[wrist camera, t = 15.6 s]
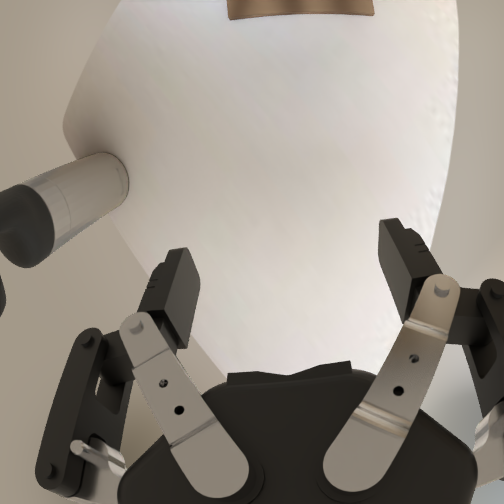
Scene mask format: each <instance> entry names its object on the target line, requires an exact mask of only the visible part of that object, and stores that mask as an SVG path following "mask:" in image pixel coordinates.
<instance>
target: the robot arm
mask: <svg viewBox="0 0 504 504" xmlns="http://www.w3.org/2000/svg"><path fill="white" fill-rule="evenodd" d="M128 186H129V183H128V176H127V172H126V170H125V168H124V166H123V165H122V163H121V162H120V161H119V160H118V159H117V158H116V157H115V156H113V155H111V154H108V153H97V154H93V155H90V156H88V157H85V158H82V159H79V160H76V161H73V162H71V163H68V164H65V165H63V166H60V167H58V168H55V169H53V170H50V171H48V172H45V173H43V174H40V175H38V176H36V177H33V178H31V179H29V180H26V181H24V182H22V183H20V184H17V185H15V186H13V187H11V188H9V189H6V190H4V191H2V192H0V250H1V252H2V253H3V254H4V256H5V257H6V258H7V259H8V260H9V261H11V262H12V263H13V264H15V265H17V266H19V267H22V268H31V267H34V266H36V265H37V264H39V263H40V262H42V261H43V260H44V259H45V258H47V257H48V256H49V255H50V254H52V253H53V252H55V251H56V250H57V249H59V248H60V247H61V246H62V245H64V244H65V243H66V242H68V241H69V240H70V239H72V238H73V237H75V236H76V235H77V234H78V233H80V232H82V231H83V230H84V229H86V228H87V227H89V226H90V225H92V224H93V223H94V222H96V221H97V220H99V219H100V218H102V217H103V216H105V215H106V214H108V213H109V212H111V211H112V210H114V209H115V208H117V207H118V206H119V205H121V204H122V202H123V201H124V200H125V198H126V196H127V192H128ZM378 257H379V262H380V265H381V268H382V270H383V273H384V275H385V278H386V281H387V283H388V286H389V288H390V291H391V294H392V296H393V299H394V302H395V304H396V307H397V310H398V313H399V315H400V318H401V321H402V324H404V325H403V327H402V329H401V331H400V333H399V335H398V337H397V339H396V341H395V343H394V345H393V347H392V349H391V351H390V353H389V355H388V356H387V358H386V360H385V362H384V364H383V366H382V368H381V369H380V371H379V373H378V375H375V374H372V373H370V372H366V371H362V370H357V369H352V367H351V362H350V361H344V362H337V363H330V364H323V365H318V366H315V367H313V368H310V369H307V370H304V371H301V372H298V373H295V374H292V375H280V374H272V373H265V372H259V371H254V372H238V373H228V375H227V382H224V383H222V384H219V385H217V386H215V387H213V388H211V389H209V390H208V391H207V392H205V393H204V394H201V392H200V391H199V390H198V388H197V387H196V385H195V384H194V382H193V381H192V379H191V378H190V376H189V375H188V373H187V372H186V370H185V369H184V367H183V366H182V364H181V363H180V361H179V360H178V358H177V357H176V352H177V349H186V348H187V347H188V341H189V337H190V332H191V328H192V323H193V318H194V314H195V309H196V305H197V300H198V296H199V291H200V277H199V274H198V271H197V269H196V266H195V264H194V261H193V259H192V256H191V254H190V251H189V250H188V248H186V247H185V248H178V249H172V250H169V252H168V254H167V257H166V259H165V262H163V263H160V264H159V265H158V266H157V267H156V268H155V269H154V271H153V272H152V275H151V277H150V280H149V281H150V282H148V285H147V289H146V290H145V292H144V295H143V297H142V300H141V303H140V305H139V308H138V310H137V313H134V314H132V315H130V316H129V317H127V318H126V319H125V320H124V321H123V323H122V324H121V326H120V329H119V330H117V331H115V332H111V333H108V334H106V335H103V334H102V333H101V331H100V330H99V329H97V328H89V329H86V330H84V331H83V332H82V333H80V334H79V335H78V337H77V338H76V340H75V342H74V344H73V347H72V349H71V352H70V355H69V357H68V360H67V363H66V366H65V368H64V371H63V374H62V377H61V379H60V383H59V385H58V389H57V391H56V395H55V397H54V400H53V404H52V407H51V410H50V413H49V417H48V420H47V424H46V427H45V431H44V434H43V438H42V442H41V446H40V450H39V454H38V458H37V462H36V467H35V475H36V479H37V481H38V483H39V485H40V486H41V487H43V488H44V489H47V490H49V491H51V492H54V493H56V494H58V495H59V496H61V497H63V498H66V499H69V500H71V501H74V502H77V503H79V504H470V503H471V500H472V497H473V494H474V491H475V488H478V487H480V486H483V485H486V484H488V483H491V482H493V481H496V480H498V479H499V480H502V481H504V282H503V281H501V280H498V279H487V280H485V281H484V282H483V283H482V284H481V287H480V289H470V288H462V287H460V286H459V284H458V283H457V281H455V280H454V279H453V278H452V277H450V276H447V275H444V274H443V273H442V271H441V269H440V268H439V266H438V264H437V263H436V261H435V259H434V257H433V256H432V254H431V253H430V252H429V249H428V247H427V246H426V245H425V242H424V241H423V239H422V238H421V236H420V235H419V234H418V233H417V232H415V231H414V230H412V229H411V228H409V229H405V228H404V227H403V225H402V224H401V222H400V220H399V219H398V218H391V219H384V220H380V222H379V241H378ZM5 305H6V295H5V290H4V286H3V282H2V279H1V276H0V316H1V315H2V313H3V311H4V308H5ZM445 344H458V345H462V347H463V350H464V353H465V356H466V359H467V362H468V365H469V368H470V372H471V375H472V378H473V382H474V386H475V389H476V393H477V396H478V400H479V404H480V408H481V412H482V416H483V419H482V420H481V421H480V422H479V424H478V425H477V428H476V431H475V446H474V450H473V452H472V451H471V450H470V448H469V447H468V446H467V445H466V444H465V443H463V442H462V441H461V440H460V439H458V438H457V437H456V436H454V435H453V434H452V433H451V432H449V431H448V430H447V429H446V428H444V427H443V426H442V425H440V424H439V423H438V422H437V421H435V420H434V419H433V418H432V417H430V416H429V415H428V414H427V413H425V412H424V411H423V410H421V409H420V406H421V404H422V402H423V399H424V397H425V395H426V393H427V390H428V388H429V386H430V384H431V381H432V379H433V376H434V374H435V371H436V368H437V366H438V363H439V361H440V358H441V356H442V353H443V350H444V347H445ZM99 377H100V378H101V380H100V384H99V387H98V391H97V395H95V389H96V385H97V381H98V378H99ZM135 379H136V381H137V383H138V385H139V387H140V389H141V391H142V393H143V395H144V398H145V400H146V401H147V404H148V405H149V407H150V409H151V411H152V413H153V415H154V417H155V419H156V421H157V423H158V424H159V426H160V428H161V430H162V432H163V435H162V436H161V437H160V438H159V439H158V440H157V441H156V442H155V443H154V444H153V445H152V446H151V447H150V448H149V449H148V450H147V451H146V452H145V453H144V454H143V455H142V456H141V457H140V458H139V459H138V460H137V461H136V462H135V463H133V464H132V465H131V466H130V467H129V468H128V469H127V468H126V467H125V461H124V458H123V456H122V455H121V454H120V446H121V440H122V434H123V429H124V424H125V418H126V413H127V408H128V404H129V399H130V393H131V389H132V385H133V380H135Z"/></svg>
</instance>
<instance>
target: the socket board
mask: <svg viewBox="0 0 504 504" xmlns="http://www.w3.org/2000/svg"><path fill="white" fill-rule="evenodd" d="M227 8H228V18H229V19H230V20H237V19H244V18H253V17H263V16H275V15H292V14H349V15H365V16H373V15H374V14H375V13H374V7H373V1H372V0H227Z"/></svg>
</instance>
